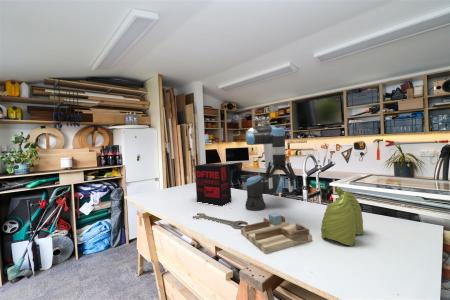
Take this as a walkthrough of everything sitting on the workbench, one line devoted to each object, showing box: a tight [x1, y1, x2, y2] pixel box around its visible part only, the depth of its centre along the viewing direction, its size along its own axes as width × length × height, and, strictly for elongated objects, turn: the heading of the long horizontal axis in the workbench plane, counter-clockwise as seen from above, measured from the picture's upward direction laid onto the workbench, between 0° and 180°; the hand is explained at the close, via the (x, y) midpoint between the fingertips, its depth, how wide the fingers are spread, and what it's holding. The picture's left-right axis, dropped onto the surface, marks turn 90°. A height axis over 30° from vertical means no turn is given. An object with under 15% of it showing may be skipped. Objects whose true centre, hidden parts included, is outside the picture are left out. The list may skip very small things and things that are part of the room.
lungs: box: [320, 186, 365, 247], centre depth 109 cm, size 25×16×24 cm, turn 133°
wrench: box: [192, 212, 249, 230], centre depth 139 cm, size 42×10×2 cm, turn 53°
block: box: [268, 212, 282, 226], centre depth 122 cm, size 5×5×5 cm
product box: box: [194, 163, 232, 207], centre depth 184 cm, size 26×14×32 cm, turn 54°
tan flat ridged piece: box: [240, 215, 313, 254], centre depth 112 cm, size 24×27×6 cm
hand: (280, 189), depth 128 cm, fingers open, 13 cm apart
